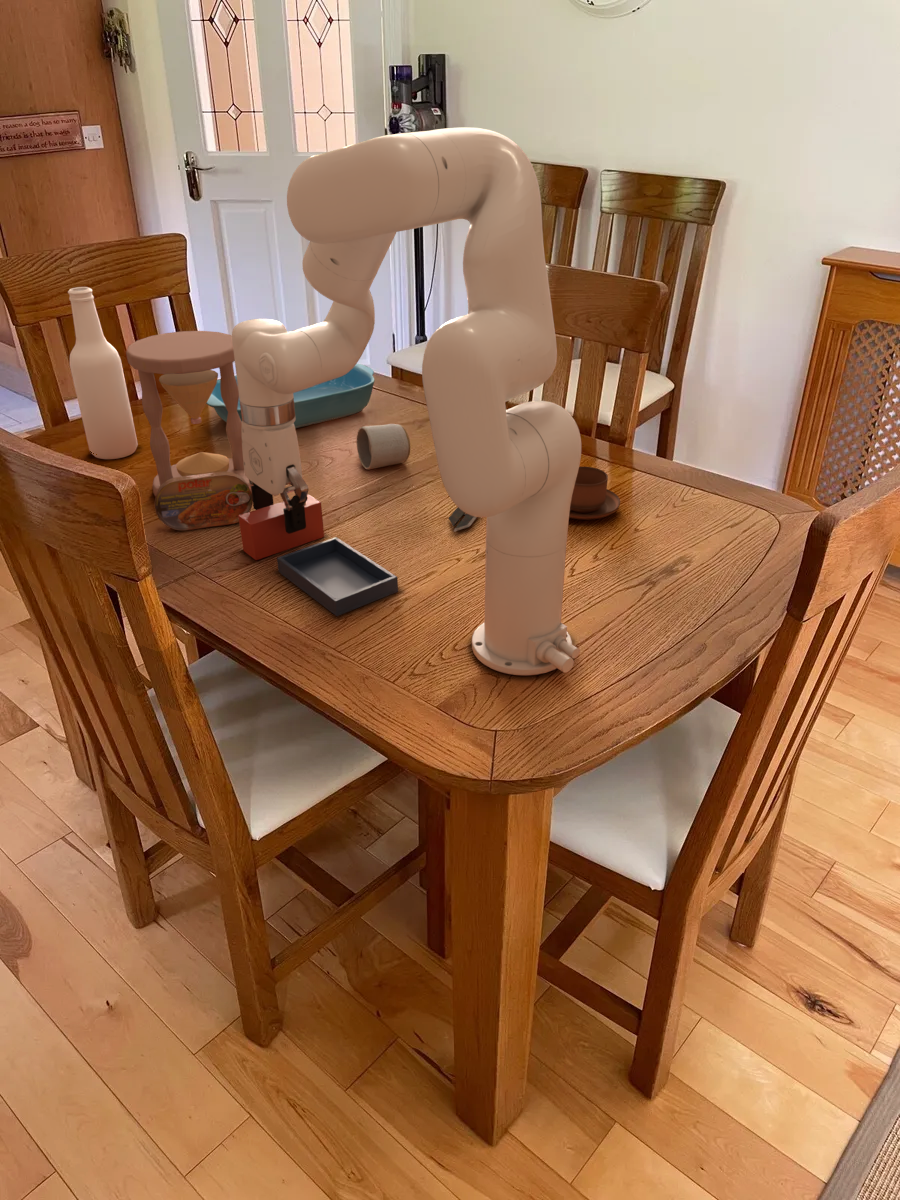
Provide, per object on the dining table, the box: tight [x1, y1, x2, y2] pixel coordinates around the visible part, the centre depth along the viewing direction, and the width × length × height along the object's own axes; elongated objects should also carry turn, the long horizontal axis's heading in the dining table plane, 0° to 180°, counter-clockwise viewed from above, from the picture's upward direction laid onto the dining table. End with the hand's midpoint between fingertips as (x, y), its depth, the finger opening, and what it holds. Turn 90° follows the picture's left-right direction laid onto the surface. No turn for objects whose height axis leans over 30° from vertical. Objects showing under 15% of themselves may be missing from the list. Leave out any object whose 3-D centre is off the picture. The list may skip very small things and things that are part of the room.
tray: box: [276, 536, 399, 617], centre depth 126 cm, size 16×10×2 cm, turn 39°
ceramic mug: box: [355, 423, 411, 470], centre depth 162 cm, size 11×8×8 cm
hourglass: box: [125, 330, 254, 497], centre depth 148 cm, size 18×18×25 cm
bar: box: [238, 494, 325, 561], centre depth 135 cm, size 4×12×6 cm, turn 129°
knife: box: [448, 506, 478, 533], centre depth 149 cm, size 25×6×1 cm, turn 154°
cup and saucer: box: [569, 466, 621, 521], centre depth 145 cm, size 12×12×6 cm
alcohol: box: [67, 286, 139, 460], centre depth 162 cm, size 9×9×30 cm
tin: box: [153, 471, 253, 532], centre depth 141 cm, size 15×3×8 cm, turn 105°
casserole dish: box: [206, 363, 375, 429], centre depth 185 cm, size 37×22×7 cm, turn 123°
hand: (279, 518), depth 135 cm, fingers open, 9 cm apart
